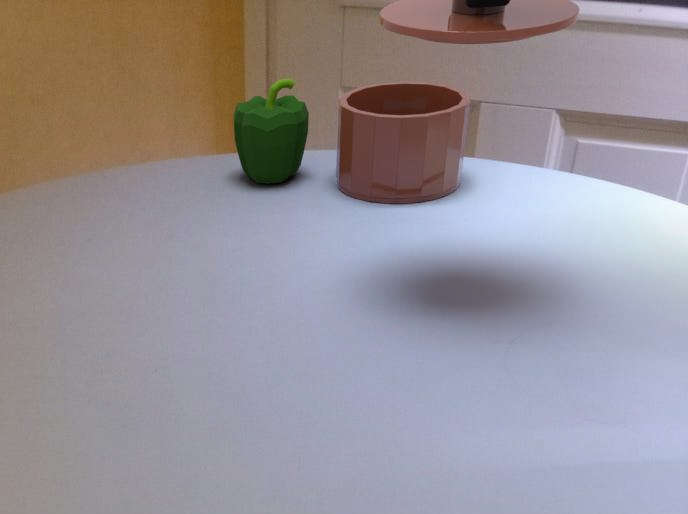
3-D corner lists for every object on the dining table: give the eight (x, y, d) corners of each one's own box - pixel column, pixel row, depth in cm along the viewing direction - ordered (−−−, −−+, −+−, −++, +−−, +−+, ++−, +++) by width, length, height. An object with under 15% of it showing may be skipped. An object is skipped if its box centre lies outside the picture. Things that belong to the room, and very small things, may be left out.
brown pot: (446, 159, 114) (455, 78, 109) (471, 199, 104) (482, 112, 99) (330, 166, 115) (333, 85, 109) (344, 207, 105) (347, 120, 99)
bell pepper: (231, 190, 110) (227, 92, 104) (238, 166, 116) (236, 72, 110) (305, 189, 109) (307, 90, 103) (309, 165, 115) (310, 70, 109)
